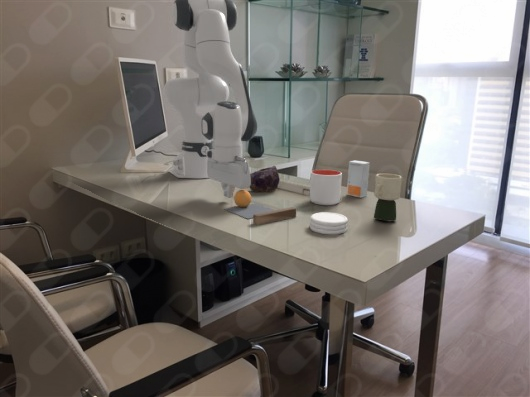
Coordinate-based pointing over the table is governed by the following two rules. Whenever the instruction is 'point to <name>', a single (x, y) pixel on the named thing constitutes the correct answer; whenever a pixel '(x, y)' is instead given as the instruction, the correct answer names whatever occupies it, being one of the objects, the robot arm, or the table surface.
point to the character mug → (387, 196)
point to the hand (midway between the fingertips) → (228, 196)
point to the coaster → (328, 223)
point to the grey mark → (249, 210)
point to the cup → (325, 187)
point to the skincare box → (358, 178)
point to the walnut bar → (274, 215)
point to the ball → (242, 198)
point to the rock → (265, 179)
